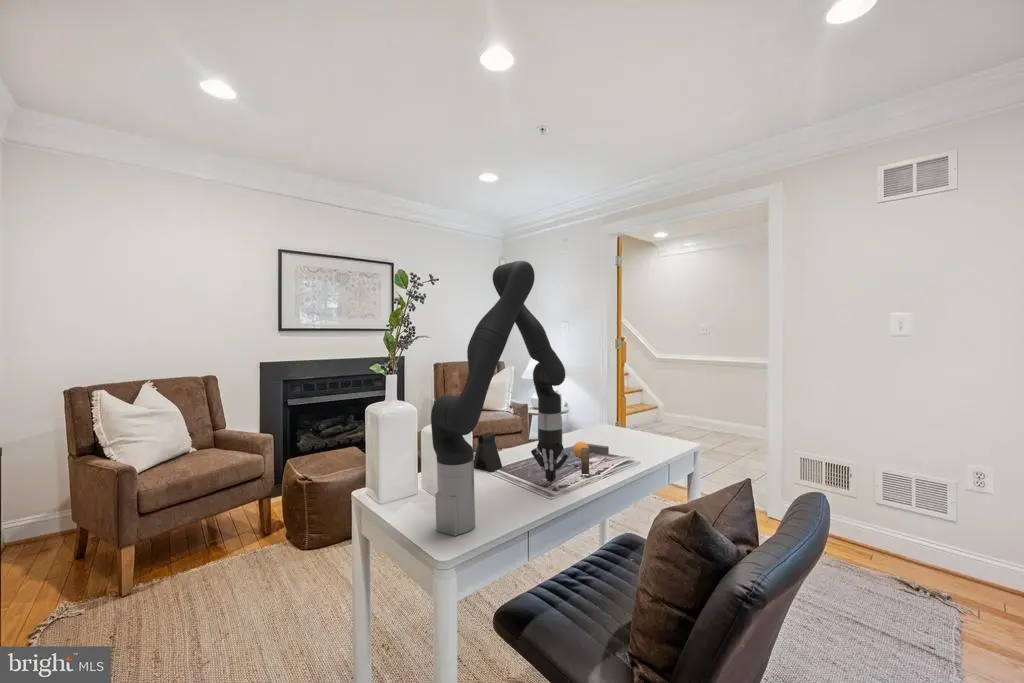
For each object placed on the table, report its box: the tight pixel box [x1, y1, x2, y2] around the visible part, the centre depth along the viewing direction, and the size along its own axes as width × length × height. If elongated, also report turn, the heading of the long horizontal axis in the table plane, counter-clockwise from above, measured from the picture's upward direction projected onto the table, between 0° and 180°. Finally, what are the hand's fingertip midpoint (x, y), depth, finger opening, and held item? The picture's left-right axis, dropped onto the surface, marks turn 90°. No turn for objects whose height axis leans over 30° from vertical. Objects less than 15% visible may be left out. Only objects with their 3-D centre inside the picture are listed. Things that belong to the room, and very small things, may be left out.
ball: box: [572, 441, 589, 458], centre depth 161 cm, size 6×6×6 cm
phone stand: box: [474, 432, 503, 473], centre depth 152 cm, size 9×6×12 cm, turn 55°
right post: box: [580, 448, 590, 475], centre depth 143 cm, size 3×3×9 cm
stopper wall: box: [586, 443, 609, 455], centre depth 169 cm, size 2×12×2 cm, turn 60°
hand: (550, 481), depth 135 cm, fingers closed
